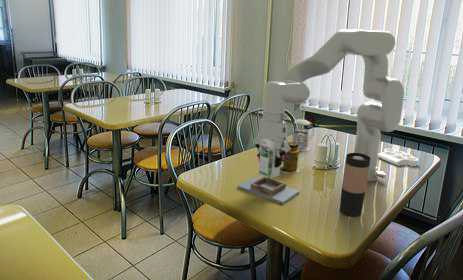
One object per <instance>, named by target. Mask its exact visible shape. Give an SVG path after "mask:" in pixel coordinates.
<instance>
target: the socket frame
mask: <svg viewBox="0 0 463 280" xmlns="http://www.w3.org/2000/svg"><path fill="white" fill-rule="evenodd" d="M260 178H261V179H259V180H257V181H255V182H253V183H251V188H250V189H253V190H256V191H259V192H262V193H264V194H267V195H270V196H273V195H275V194H277V193H278V192H280V191H282V190H283V189H285V188H286V187H287V183H286V182H284V181H281V180H278V179H274V178H270V179H269V178H267V177H264V176H262V177H260ZM264 182H266V183H269V184H272V185H275V186H278V187H276V188H274V189H273V190H271V189H268V188H265V187H262V186H259V185H261V184H263V183H264Z"/></svg>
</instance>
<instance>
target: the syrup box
mask: <svg viewBox="0 0 463 280" xmlns="http://www.w3.org/2000/svg"><path fill="white" fill-rule="evenodd" d="M276 157H277V154H276V150H275V149H274V141H273V140H269V139H263V140H262V141H261V148H260V162H259V161H258V163H259V164H258V175H259V176H262V177H267V178H269V179H270V178H272V179H274V178H275V177H278V176H279V175H280V172H281V171H280V167H281V166H279V167H277V168H276V167H275V159H276Z"/></svg>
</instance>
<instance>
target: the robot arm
mask: <svg viewBox="0 0 463 280" xmlns="http://www.w3.org/2000/svg"><path fill="white" fill-rule="evenodd" d="M395 47H396V38H395V36H394V35H393V33H392V32H390V31H386V30H366V29H347V28H345V29H340V30H337V31H336V32H335V33H334V34H333V35H332V36H331V37H330V38H328V40H327V41H326V42H325V43H324V44H323V45H322V46H321V47H320V48H319V49H318V50H317V51H316V52H315V53H314V54H313V55H311V56H309V57H307V58H306V59H305V60H303V61H301V62H298V63H297V64H295V65H293V67H291V68H290V69H289V70H287V72H285V74H283V76H281V78H280V79H279V80H278V81H275V80H273V81H267V82H266V83H265V85H264V91H263V92H264V95H263V96H264V97H263V109H262V110H263V111H262V118H261V119H260V123H259V127H258V132H257V136H256V137H255V138H253V139H252V142H253V144H254V145H255V147H256V149H257V152H258V153H259V157H258V163H259V162H260V148H261V141H262V140H263V139H269V140H273V141H274V149H275V150H276V154H277V157H276V159H275V167H276V168H277V167H279V166H280V167H282V166H281V165H283V161H282V156H283V155H285V154H286V153H287V152H289V151H290V150H291V148H290V146H289V145H288V128H287V127H288V126H287V122H286V121H287V119H288V116H286V114H285V109H286V103H287V104H289V103H290V104H297V105H298V104H304V103H303V102H305V101H307V100H308V99H309V97H310V94H311V92H310V88H309V86H307V84H306V83H304V82H306V81H307V80H309V79H311V78H315V77H319V76H320V77H321V76H324V75H326V74H329V73H331V71H332V70H333V69H334V68H336V67H337V65H339V63H340V62H342V61H343V59H344V58H345V57H346V56H349V55H351V56H361V57H362V59H363V63H364V74H363V75H364V76H363V85H362V94H363V95H364V96H365V98H367V99H369V100H372V101H366V102H364V103H362V104H360V105H359V107H358V109H357V112H356V122H357V123H356V136H355V143H354V151H353V153H361V154H365V155H367V156H369V157H370V158H371V160H370V165H369V172H368V179H367V182H375V181H377V180H378V179H379V178H382V179H385V178H386V176H387V175H386V173H385V172H384V171H382V170H381V171H380V170H379V169H378V168H379V166H377V163H378V159H379V158H378V154H379V153H380V152H379V151H380V144H381V140H382V135H381V134H382V133H381V131H383V132H386V133H387V132H388V133H389V132H390V133H391V132H393V131H395V130H396V129H397V128H398V127H399V125H400V123H401V119H402V113H403V106H404V98H405V89H404V85H403V84H402V82H401V81H400V80H398V79H396V78H392V77H389V73H388V72H389V60H388V59H389V58H388V56H387V55H390V54H391V53H392V51H393V50H394V49H395ZM373 101H374V102H373ZM375 101H376V102H375ZM378 102H380V103H378ZM283 150H284V151H283Z"/></svg>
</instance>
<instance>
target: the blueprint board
mask: <svg viewBox="0 0 463 280" xmlns="http://www.w3.org/2000/svg"><path fill="white" fill-rule="evenodd" d="M261 178H262V177H258V176H254V177H252V178H250V179H248V180H246V181H244V182H242V183H240V184H238V185H237V189H239V190H242V191H244V192H247V193H249V194H253V195H255V196H257V197H258V196H259V197H261V198H264V199H266V200H270V201H272V202H275V203H278V204H281V205H284V204H286V203H287V202H289V201H290V200H292V199H293V198H294V197H296V196H297V195H299V194H300V190H298V189H295V188H292V187H288V186H286V188H285V189H283V190H282V191H280V192H278V193H277V194H275V195H273V196H270V195H267V194H264V193H262V192H259V191H256V190H253V189H250V188H251V183H253V182H255V181H257V180H259V179H261ZM259 186H262V187H265V188H268V189H271V190H273V189H274V188H276V187H278V186H275V185H272V184H269V183H266V182H264V183H263V184H261V185H259Z"/></svg>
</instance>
